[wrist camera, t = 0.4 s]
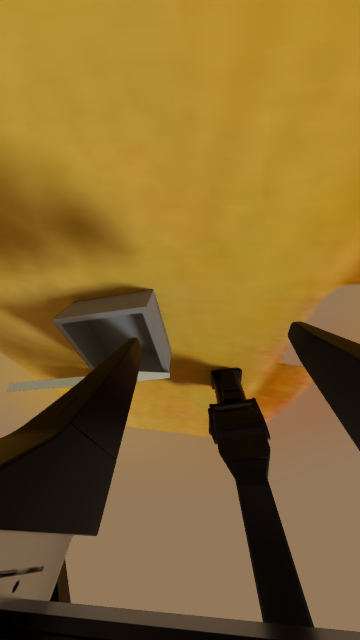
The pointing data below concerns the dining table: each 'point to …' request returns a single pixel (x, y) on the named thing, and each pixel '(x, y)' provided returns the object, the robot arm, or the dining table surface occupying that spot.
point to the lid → (73, 382)
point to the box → (117, 329)
